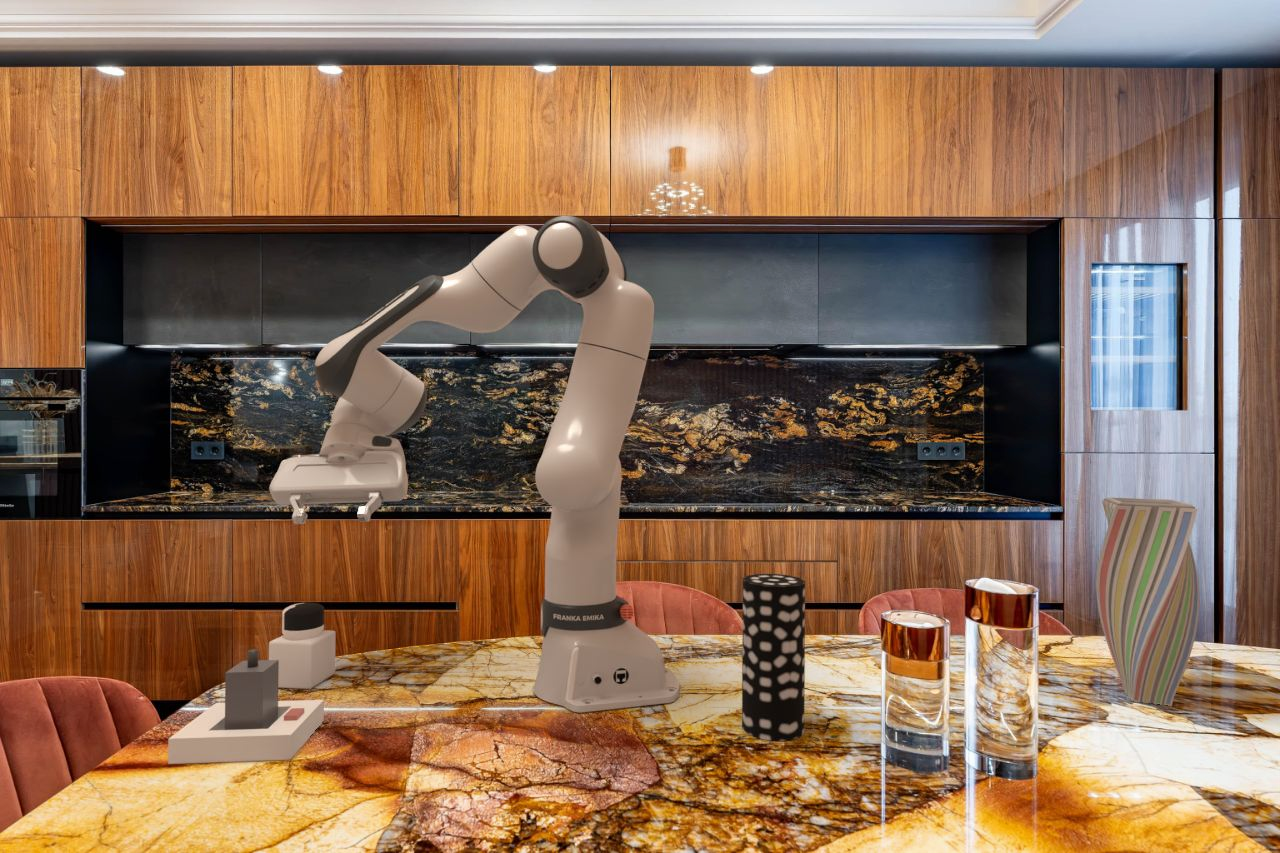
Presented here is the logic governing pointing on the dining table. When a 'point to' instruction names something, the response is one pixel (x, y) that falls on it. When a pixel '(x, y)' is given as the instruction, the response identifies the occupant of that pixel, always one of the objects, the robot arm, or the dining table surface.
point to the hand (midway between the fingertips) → (330, 520)
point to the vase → (1148, 594)
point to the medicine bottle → (303, 647)
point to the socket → (246, 735)
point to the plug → (251, 694)
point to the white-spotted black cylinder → (773, 656)
